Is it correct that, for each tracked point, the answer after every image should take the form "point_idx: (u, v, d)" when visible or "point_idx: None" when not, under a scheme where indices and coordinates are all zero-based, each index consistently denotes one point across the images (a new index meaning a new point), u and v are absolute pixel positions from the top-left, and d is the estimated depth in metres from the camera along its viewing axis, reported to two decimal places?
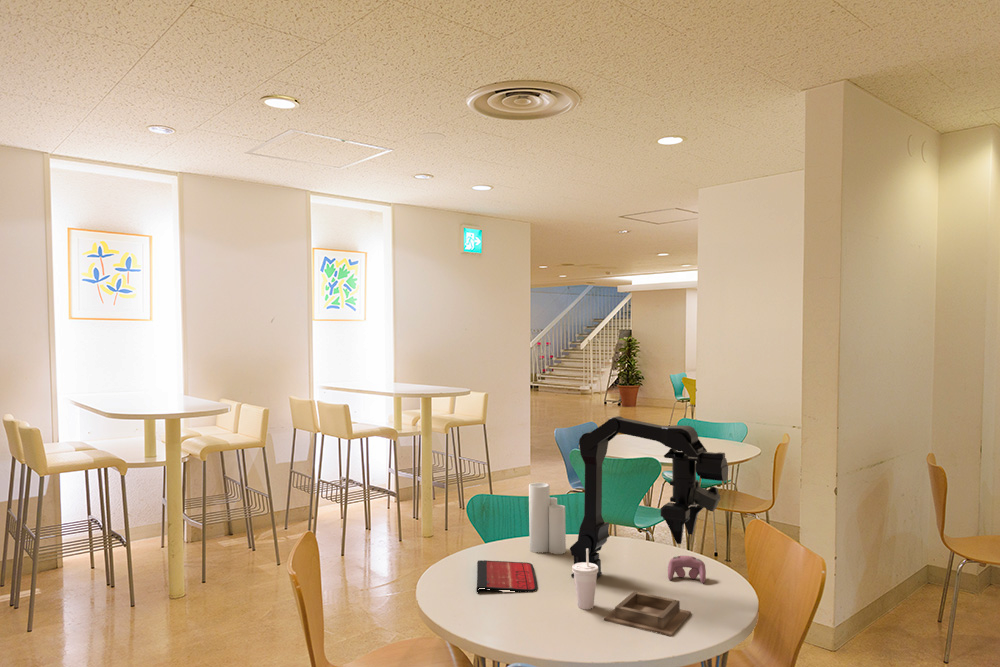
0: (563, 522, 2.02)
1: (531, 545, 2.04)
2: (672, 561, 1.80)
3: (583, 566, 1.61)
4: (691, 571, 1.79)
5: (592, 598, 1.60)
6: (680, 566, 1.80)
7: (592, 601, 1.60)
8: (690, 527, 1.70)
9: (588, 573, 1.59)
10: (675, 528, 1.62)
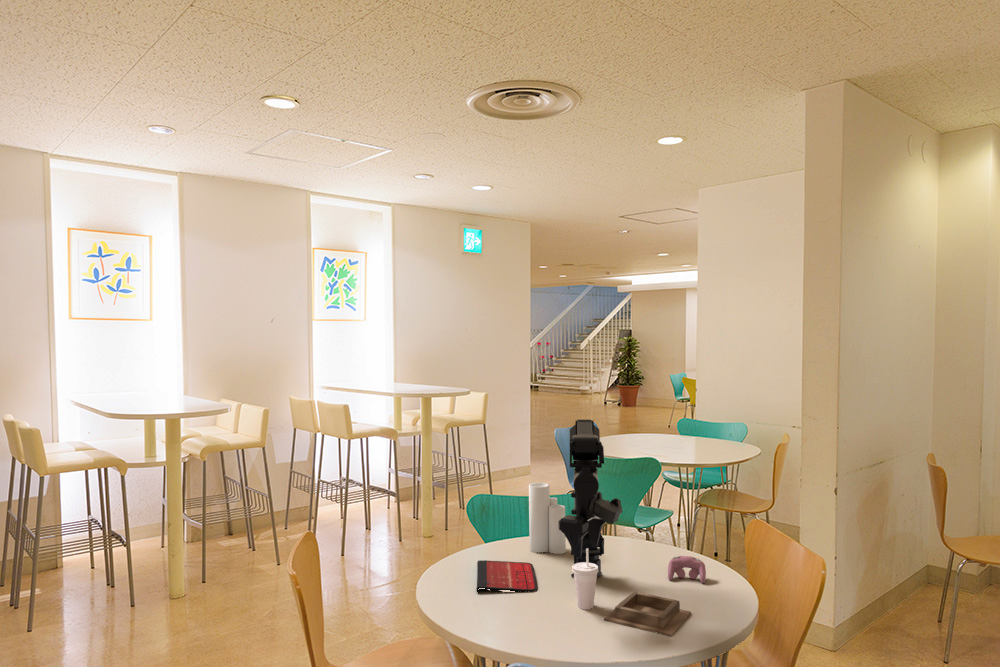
0: None
1: (531, 545, 2.04)
2: (672, 561, 1.80)
3: (583, 566, 1.61)
4: (691, 571, 1.79)
5: (592, 598, 1.60)
6: (680, 567, 1.80)
7: (592, 601, 1.60)
8: (595, 540, 1.65)
9: (588, 573, 1.59)
10: (574, 542, 1.57)
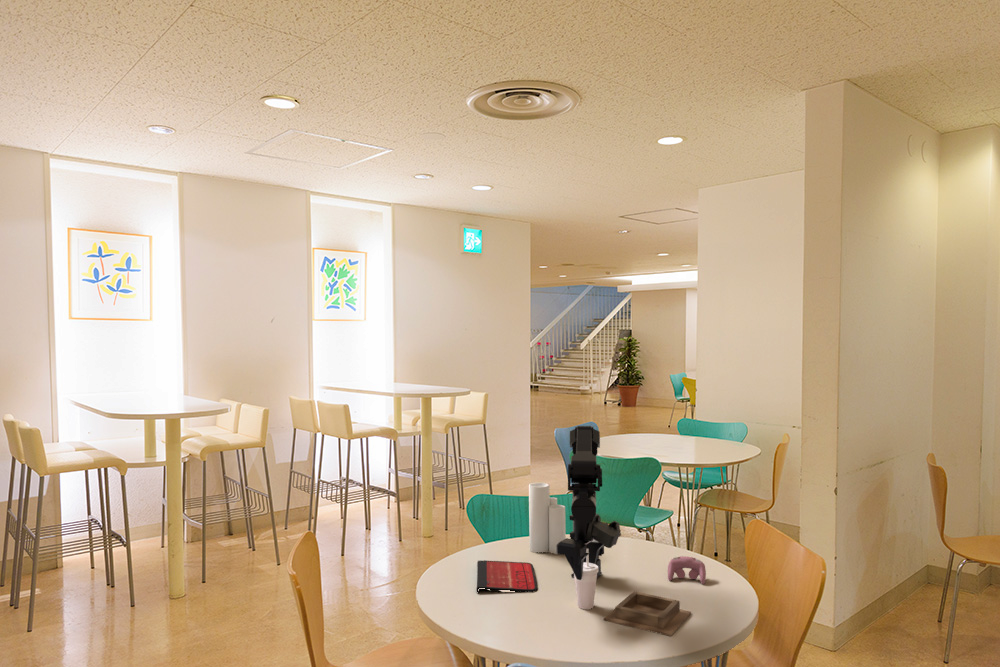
0: (563, 522, 2.02)
1: (531, 545, 2.04)
2: (672, 562, 1.80)
3: (583, 566, 1.61)
4: (691, 572, 1.79)
5: (592, 598, 1.60)
6: (680, 567, 1.80)
7: (592, 601, 1.60)
8: None
9: (588, 573, 1.59)
10: (574, 564, 1.58)
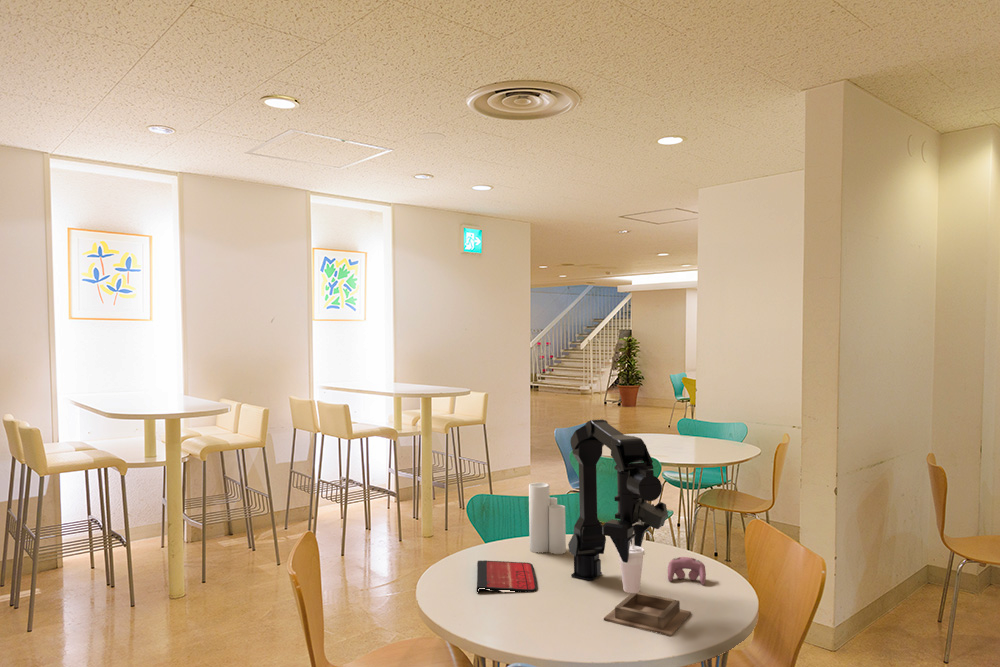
0: (563, 522, 2.02)
1: (531, 545, 2.04)
2: (672, 562, 1.79)
3: None
4: (691, 572, 1.78)
5: (638, 581, 1.55)
6: (680, 568, 1.79)
7: (638, 585, 1.55)
8: None
9: (634, 555, 1.53)
10: (620, 546, 1.53)
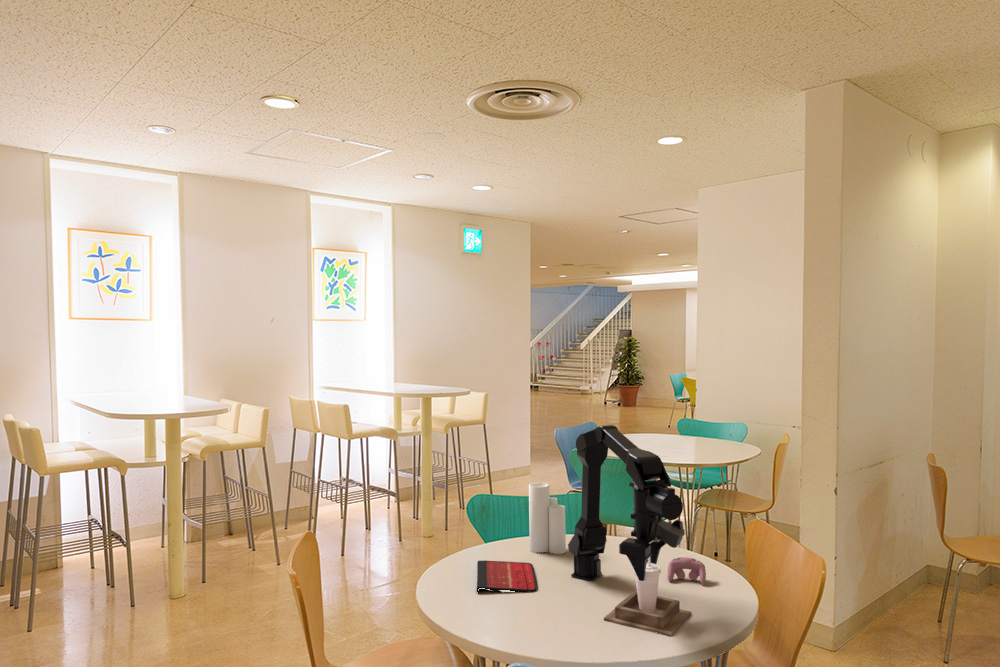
0: (563, 522, 2.02)
1: (531, 545, 2.04)
2: (672, 563, 1.79)
3: None
4: (691, 573, 1.78)
5: (654, 600, 1.54)
6: (680, 568, 1.79)
7: (654, 603, 1.54)
8: None
9: (651, 574, 1.52)
10: (637, 564, 1.52)
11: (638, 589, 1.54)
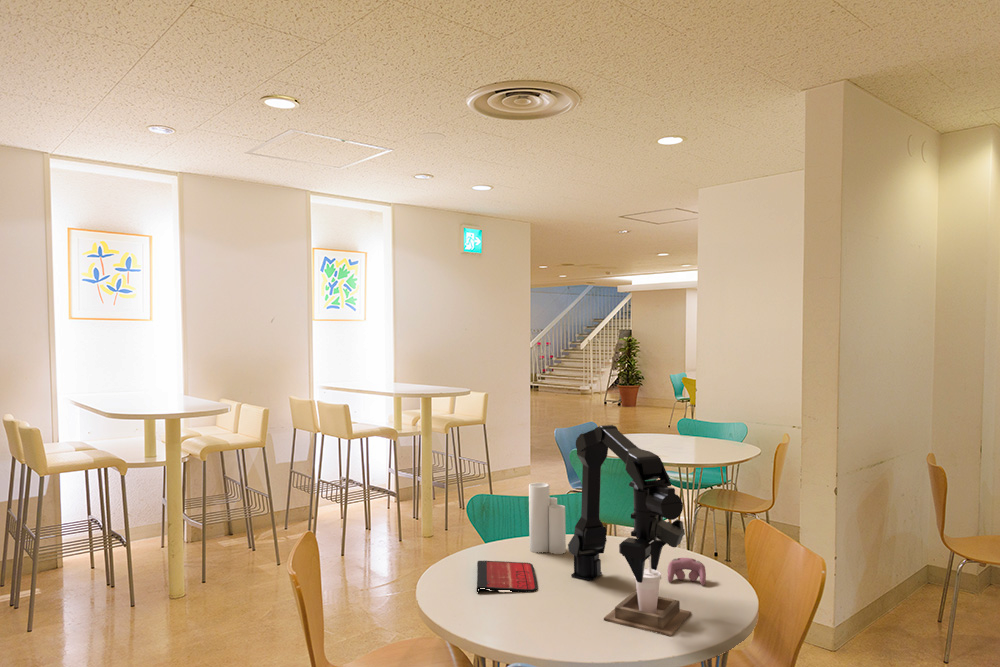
0: (563, 522, 2.02)
1: (531, 545, 2.04)
2: (672, 563, 1.79)
3: (645, 572, 1.55)
4: (691, 573, 1.77)
5: (655, 606, 1.54)
6: (680, 569, 1.79)
7: (655, 609, 1.54)
8: (654, 563, 1.59)
9: (652, 580, 1.52)
10: (635, 566, 1.51)
11: (639, 595, 1.54)
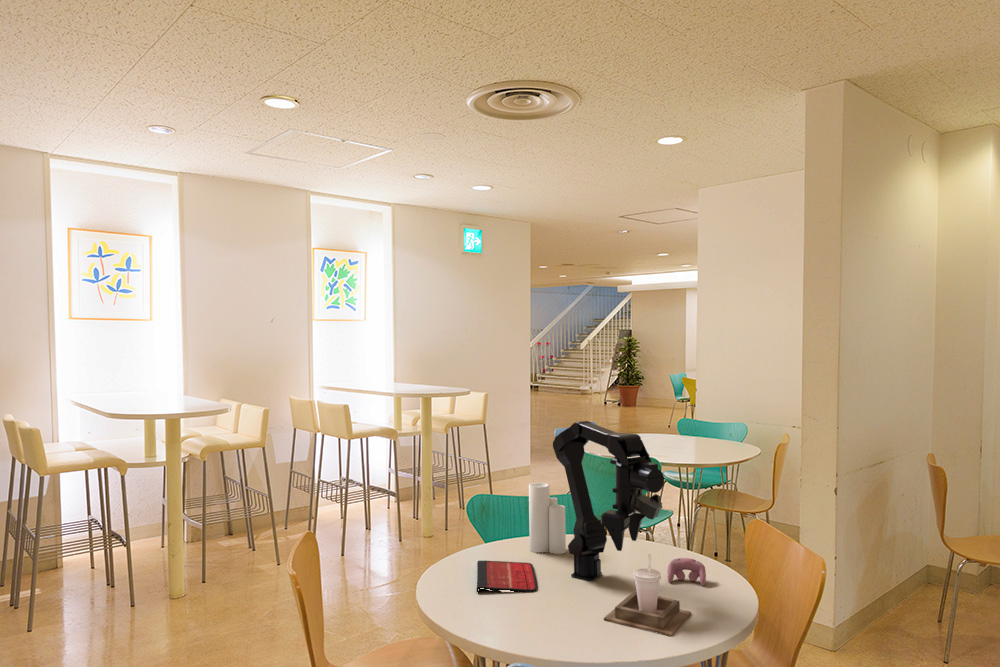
0: (563, 522, 2.02)
1: (531, 545, 2.04)
2: (672, 563, 1.78)
3: (645, 572, 1.55)
4: (691, 574, 1.77)
5: (655, 606, 1.54)
6: (680, 569, 1.78)
7: (655, 609, 1.54)
8: (634, 534, 1.72)
9: (651, 580, 1.52)
10: (615, 536, 1.64)
11: (638, 595, 1.54)
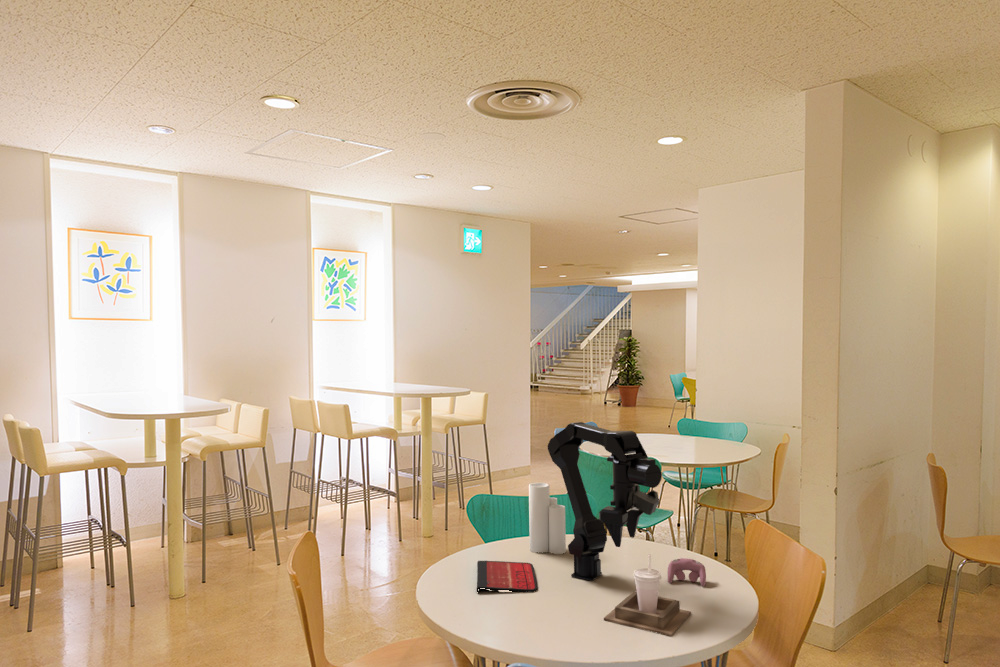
0: (563, 522, 2.02)
1: (531, 545, 2.04)
2: (672, 564, 1.78)
3: (645, 572, 1.55)
4: (691, 574, 1.77)
5: (655, 606, 1.54)
6: (680, 569, 1.78)
7: (655, 609, 1.54)
8: (632, 531, 1.73)
9: (651, 580, 1.52)
10: (613, 532, 1.65)
11: (638, 595, 1.54)
